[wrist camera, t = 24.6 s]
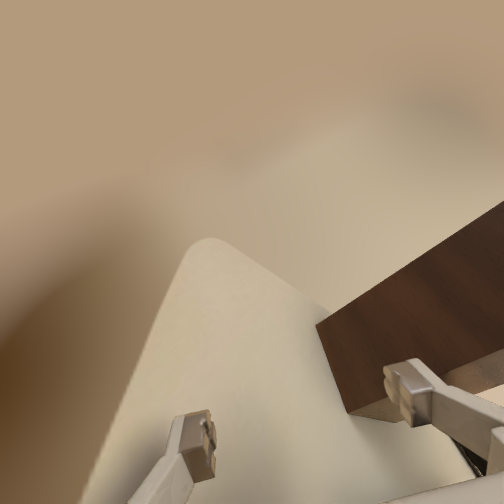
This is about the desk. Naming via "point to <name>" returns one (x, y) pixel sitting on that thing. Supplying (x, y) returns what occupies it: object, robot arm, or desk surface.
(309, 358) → the desk surface
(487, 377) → the stand
